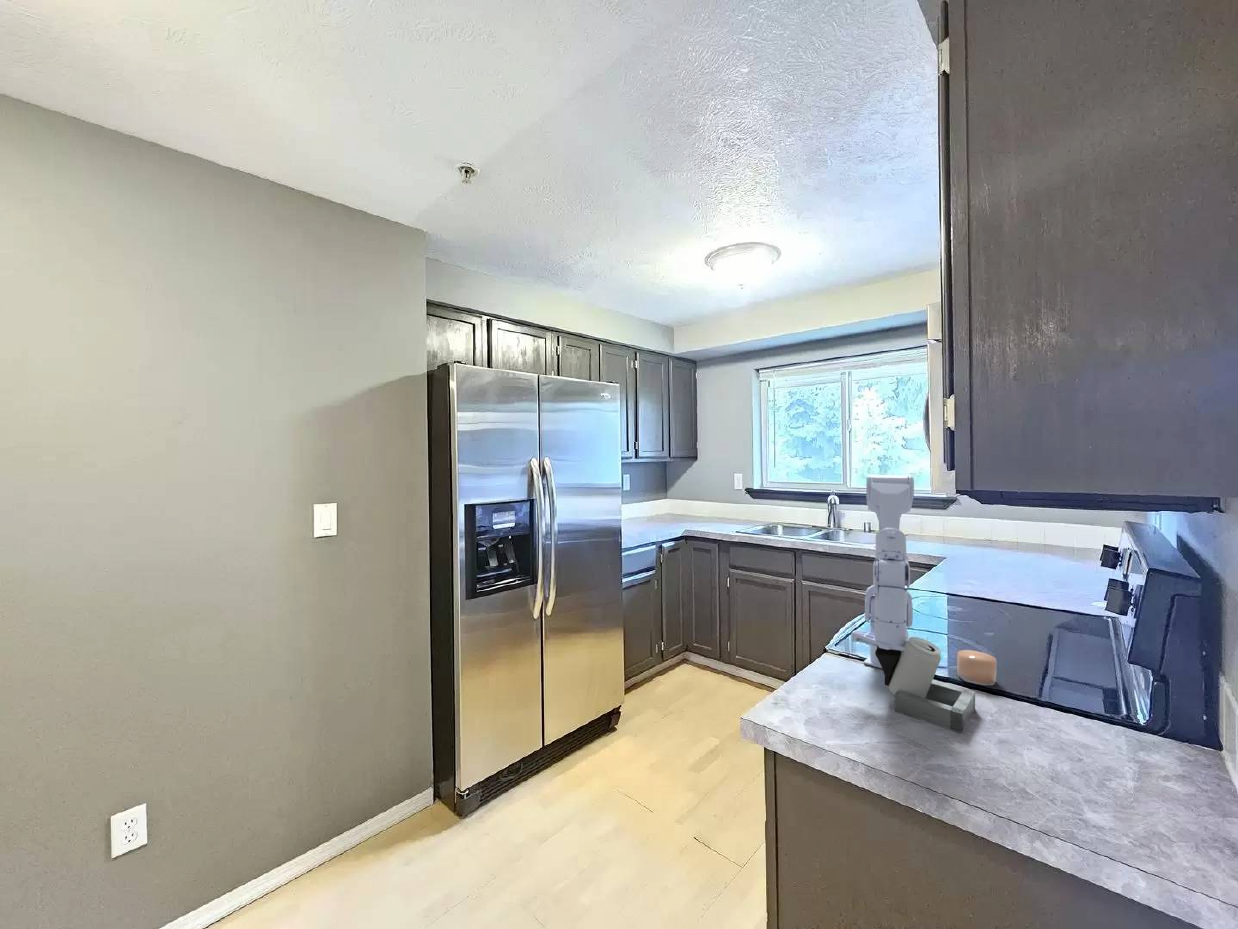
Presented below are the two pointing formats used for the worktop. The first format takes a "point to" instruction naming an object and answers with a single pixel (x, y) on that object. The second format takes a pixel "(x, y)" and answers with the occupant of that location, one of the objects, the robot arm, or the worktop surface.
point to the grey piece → (939, 705)
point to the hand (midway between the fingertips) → (889, 684)
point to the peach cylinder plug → (976, 666)
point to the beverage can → (915, 667)
